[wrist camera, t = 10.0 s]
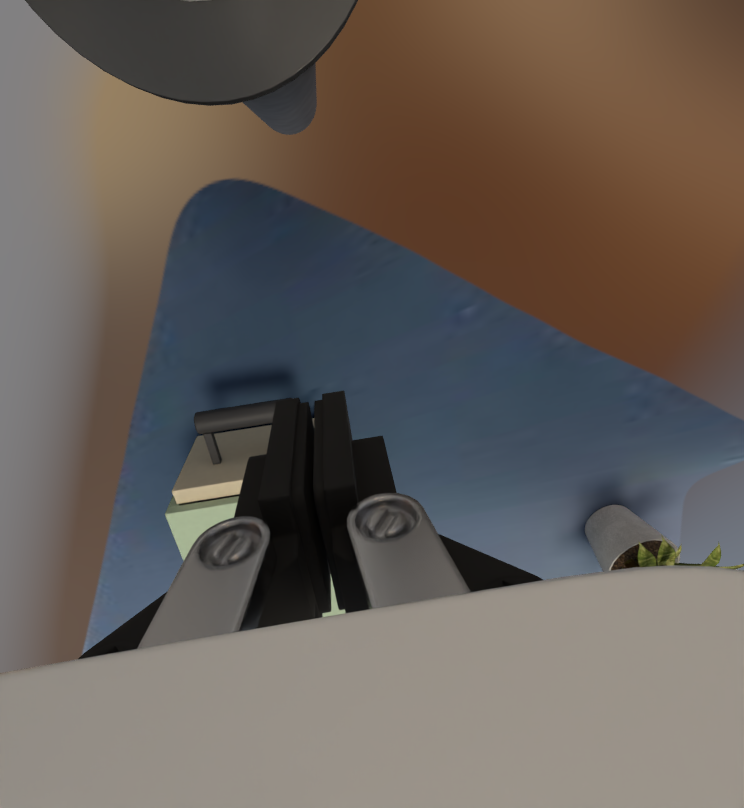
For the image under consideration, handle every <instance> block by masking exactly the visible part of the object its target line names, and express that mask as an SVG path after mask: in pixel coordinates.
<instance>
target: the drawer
mask: <svg viewBox="0 0 744 808" xmlns="http://www.w3.org/2000/svg"><path fill="white" fill-rule="evenodd" d="M287 399H292V398H286V399H280V400H273V401H267V402H260V403H254V404H248V405H241V406H235V407H228V408H222V409H215V410H209V411H202V412H197V413H195V416H194V423H195V428H196V430H197V432H198V433H199V434H203V436H197V438H196V440H195V442H194V444H193V446H192V448H191V451H190V453H189V455H188V457H187V459H186V462H185V464H184V466H183V468H182V470H181V472H180V475H179V477H178V479H177V481H176V483H175V485H174V488H173V490H172V493H173V496H174V498H175V501H176V504H182V503H188V502H194V501H198V503H199V502H205V501H211V500H218V499H224V498H230V497H236V496H239V494H240V490H241V486H242V482H243V478H244V474H245V470H246V466H247V462H248V459H249V457H251V456H258V455H264V454H266V453H267V448H268V443H269V437H270V432H271V426H272V425H267V426H261V427H255V428H248V429H242V430H235V431H229V432H223V433H216V434H214V433H213V432H217V431H223V430H230V429H236V428H243V427H249V426H255V425H262V424H268V423H272V421H273V416H274V410H275V405H276V401H281V400H287ZM312 421H313V426H314V418H312Z"/></svg>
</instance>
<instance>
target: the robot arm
mask: <svg viewBox="0 0 744 808" xmlns="http://www.w3.org/2000/svg"><path fill="white" fill-rule="evenodd" d="M184 1H204V0H184ZM331 577H332V582H333V587H334V591H335V596H336V600H337V605H338V609H339V610H344V609H345V612H346V613H345V614H339V615H333V616H327V617H322V613H327V612H331ZM0 808H744V571H742V570H735V569H727V568H719V567H711V566H676V565H669V566H652V567H635V568H627V569H619V570H612V571H604V572H597V573H589V574H582V575H574V576H567V577H560V578H554V579H548V580H543V579H541V578H539V577H537V576H535V575H533V574H531V573H528V572H526V571H524V570H521V569H519V568H517V567H514V566H512V565H510V564H507V563H505V562H503V561H500V560H498V559H496V558H493V557H491V556H489V555H486V554H484V553H482V552H479V551H477V550H475V549H472V548H470V547H468V546H465V545H463V544H461V543H458V542H456V541H454V540H451V539H449V538H447V537H444V536H442V535H440V534H438V533H437V531H436V530H435V528H434V526H433V524H432V523H431V521H430V519H429V517H428V516H427V514H426V512H425V510H424V508H423V507H422V506H421V505H420V503H419V502H418V501H417V500H415V499H413V498H411V497H410V496H407V495H403V494H399V493H396V489H395V485H394V480H393V476H392V472H391V468H390V464H389V460H388V456H387V451H386V447H385V443H384V439H383V436H378V437H372V438H365V439H359V440H353V441H352V435H351V429H350V423H349V417H348V411H347V405H346V399H345V393H344V391H339V392H332V393H326V394H322V400H318V401H315V408H314V426H313V421H312V416H311V411H310V407H309V403H308V402H305V403H301V402H300V399H299V398H294V399H287V400H281V401H276V405H275V410H274V416H273V421H272V426H271V432H270V437H269V443H268V448H267V453H266V454H264V455H258V456H251V457H249V459H248V462H247V466H246V470H245V474H244V478H243V482H242V486H241V490H240V494H239V498H238V502H237V506H236V511H235V515H234V518H230V519H227V520H224V521H221V522H219V523H217V524H215V525H213V526H212V527H210V528H208V529H207V530H206V531H205V532H203V533H202V534H201V535H200V536H199V537H198V538H197V539H196V541H195V542H194V544H193V545H192V547H191V549H190V550H189V552H188V554H187V556H186V558H185V560H184V562H183V564H182V565H181V567H180V569H179V571H178V573H177V575H176V577H175V579H174V580H173V582H172V584H171V586H170V588H169V590H168V592H166V593H165V594H163V595H162V596H161V597H159V598H158V599H157V600H155V601H154V602H153V603H151V604H150V605H149V606H147V607H146V608H145V609H143V610H142V611H141V612H139V613H138V614H137V615H135V616H134V617H133V618H131V619H130V620H128V621H127V622H126V623H124V624H123V625H122V626H120V627H119V628H118V629H116V630H115V631H114V632H112V633H111V634H110V635H108V636H107V637H106V638H104V639H103V640H102V641H100V642H99V643H97V644H96V645H95V646H93V647H92V648H91V649H89V650H88V651H87V652H85V653H84V654H83V655H82V656H81V657H80V658H79V659H77V660H72V661H66V662H60V663H55V664H49V665H43V666H38V667H32V668H26V669H21V670H15V671H9V672H4V673H0Z"/></svg>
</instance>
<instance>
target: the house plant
mask: <svg viewBox="0 0 744 808" xmlns="http://www.w3.org/2000/svg"><path fill="white" fill-rule="evenodd" d="M585 534H586V536H587V538H588V541H589V543H590V545H591V547H592V549H593V551H594V553H595V555H596V557H597V560H598V562H599V564H600V566H601V568H602V570H603V572H604V571H612V570H619V569H627V568H635V567H652V566H669V565H676V566H711V567H719V566H716V565H717V564H718V563H719V561H720V558H721V549H720V545H718V546H717V547H716V548H715V549H714V550H713V551H712V553H711V554H710V555H709V556H708V558H707V559H706V560H705V561H704V562H703V563H702V564H684V563H679V561H680V552H681V545H680V547H679V549H678V548H677V546H676V545H675V544H673V543H672V542H671V541H670V540H668V539H667V538H666V537H664V536H663V535H662V534H660V533H659V532H658V531H656V530H655V529H654V528H653V527H651V526H650V525H649V524H647V523H646V522H645V521H643V520H642V519H641V518H639V517H638V516H637V515H635V514H634V513H633V512H631V511H630V510H629V509H627V508H626V507H624V506H621V505H610V506H606V507H603V508H601V509H599V510H598V511H596V512H595V513H594V514H592V515H591V517H590V518H589V519H588V521H587V523H586V525H585ZM743 566H744V564H742V565H737V566H731V567H719V568H727V569H737V568H741V567H743Z"/></svg>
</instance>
